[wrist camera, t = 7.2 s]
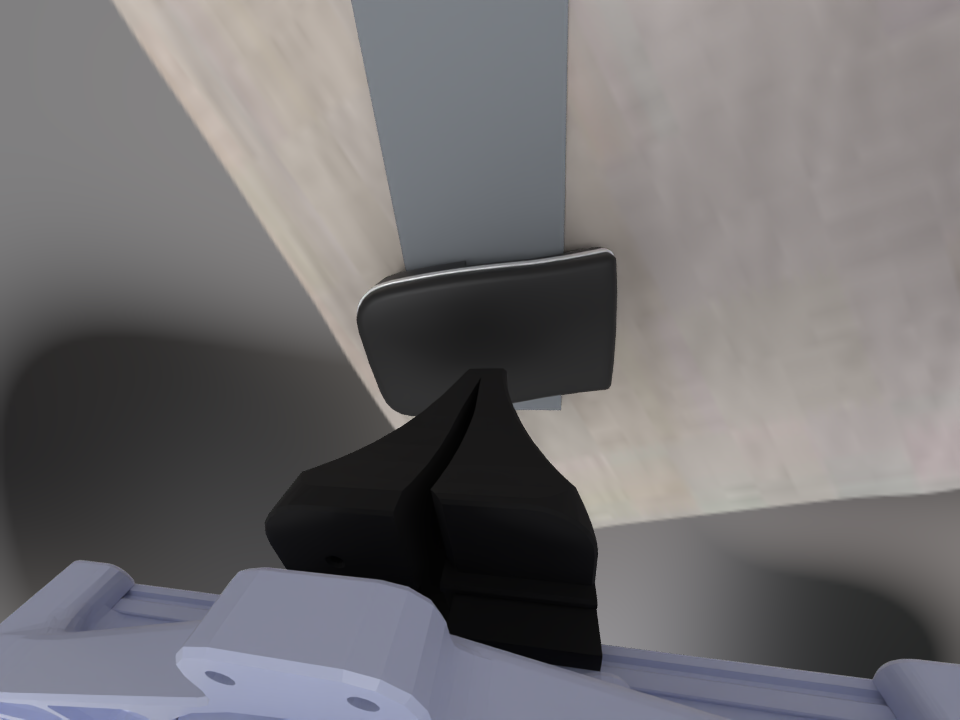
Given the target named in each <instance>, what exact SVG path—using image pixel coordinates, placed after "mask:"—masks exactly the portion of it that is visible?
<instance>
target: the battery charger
mask: <svg viewBox="0 0 960 720" xmlns="http://www.w3.org/2000/svg"><path fill="white" fill-rule="evenodd" d="M616 311H617V273H616V258H615V256H614V255H613V252H611V251H610V250H609V249H607V248H601V247H595V248H589V249H583V250H576V251H571V252H566V253H562V254H556V255H551V256H545V257H539V258H532V259H524V260H513V261H503V262H494V263H485V264H476V265H468V266H467V263H466V261H461V262H454V263H447V264H441V265H435V266H430V267H424V268H419V269H414V270H409V271H404V272H400V273H397V274H394V275H391V276H388V277H386V278H384V279H383V280H382V281H380V282H379V283H378V284H376V285H375V286H374V287H372V288H371V289H370V290H369V291H368V292H366V294H365V295H364V296H363V297H362V298H361V300H360V302H359V305H358V308H357V319H356V320H357V325H358V330H359V334H360V337H361V340H362V343H363V346H364V349H365V352H366V355H367V358H368V361H369V364H370V367H371V369H372V372H373V374H374V377H375V379H376V382H377V384H378V387H379V389H380V392H381V394H382V396H383V398H384V399H385V401H386V403H387V404H388V405H389V406H390V407H391V408H392V409H393V410H395V411H397V412H399V413H401V414H404V415H409V416H417V415H419V414H420V413H421V412H423V411H424V410H425V409H426V408H427V407H429V406H430V405H431V404H432V403H433V402H435V401H436V400H437V399H438V398H439V397H441V396H442V395H443V394H444V393H445V392H446V391H447V390H448V389H449V388H450V387H451V386H452V385H453V384H454V383H455V382H456V381H457V380H458V379H459V378H460V377H461V376H462V375H463V374H464V373H465V372H466V371H468V370H469V369H486V368H504V369H505V370H506V371H507V383H508V392H509V395H510V398H511V401H512V403H518V402H524V401H529V400H534V399H539V398H544V397H551V396H557V395H565V394H573V393H579V392H588V391H597V390H606V389H609V387H610V386H611V381H612V373H613V364H614V351H615V337H616Z"/></svg>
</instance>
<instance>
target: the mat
mask: <svg viewBox="0 0 960 720" xmlns="http://www.w3.org/2000/svg"><path fill="white" fill-rule="evenodd" d="M351 2H352V7H353V12H354V17H355V22H356V27H357V32H358V37H359V42H360V47H361V52H362V56H363V61H364V66H365V71H366V76H367V81H368V86H369V91H370V96H371V101H372V106H373V111H374V116H375V121H376V125H377V130H378V135H379V140H380V145H381V150H382V155H383V160H384V165H385V170H386V175H387V180H388V185H389V190H390V194H391V199H392V204H393V209H394V214H395V219H396V224H397V229H398V234H399V239H400V244H401V249H402V254H403V258H404V263H405V268H406V271H409V270H414V269H419V268H424V267H430V266H435V265H441V264H447V263H454V262H461V261H466V263H467V266H468V265H476V264H485V263H494V262H503V261H513V260H524V259H532V258H539V257H545V256H551V255H556V254H562V253H564V208H565V152H566V95H567V39H568V0H351ZM512 404H513V406H514V409H515V410H561V395H557V396H551V397H544V398H539V399H534V400H529V401H524V402H518V403H512Z"/></svg>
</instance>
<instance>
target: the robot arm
mask: <svg viewBox="0 0 960 720" xmlns="http://www.w3.org/2000/svg"><path fill="white" fill-rule="evenodd" d="M265 531H266V535H267V538H268V540H269V542H270V544H271V546H272V547H273V549H274V550H275V552H276V553H277V555H278V557H279V558H280V560H281V561H282V563H283V564H284V566H285V568H286V569H287V570H286V569H276V568H268V567H265V568H254V569H246V570H242V571H239V572H238V573H237V574H236V576H235V577H234V578H233V579H232V580H231V582H230V583H229V584H228V585H227V587H226V588H225V590H224V591H223V592H222V593H221V595H218V594H210V593H202V592H194V591H187V590H179V589H172V588H164V587H157V586H149V585H141V584H134V580H133V579H132V578H131V576H130V575H128V573H127V572H125V571H124V570H123V569H121V568H119V567H117V566H115V565H112V564H108V563H99V562H91V561H83V560H79V561H75V562H73V563H72V564H71V565H69V566H68V567H67V568H66V569H65V570H63V571H62V572H61V573H60V574H59V575H57V576H56V577H55V578H54V579H53V580H52V581H50V582H49V583H48V584H47V585H46V586H44V587H43V588H42V589H41V590H40V591H38V592H37V593H36V594H35V595H34V596H33V597H31V598H30V599H29V600H28V601H27V602H25V603H24V604H23V605H22V606H21V607H19V608H18V609H17V610H16V611H15V612H14V613H12V614H11V615H10V616H9V617H8V618H6V619H5V620H4V621H3V622H2V623H1V624H0V720H960V664H952V663H943V662H935V661H926V660H918V659H899V660H894V661H890V662H888V663H886V664H884V665H882V666H881V667H880V668H879V669H878V670H877V672H876V674H875V675H874V678H873V679H865V678H857V677H850V676H842V675H834V674H827V673H819V672H811V671H804V670H796V669H788V668H780V667H773V666H765V665H757V664H750V663H742V662H734V661H727V660H718V659H711V658H703V657H695V656H688V655H680V654H672V653H665V652H657V651H650V650H641V649H634V648H626V647H619V646H611V645H603V644H601V640H600V632H599V625H598V618H597V610H596V609H597V595H596V588H595V576H596V567H597V558H598V548H597V541H596V537H595V534H594V530H593V527H592V524H591V521H590V518H589V516H588V513H587V511H586V509H585V506H584V504H583V502H582V500H581V498H580V495H579V493H578V491H577V489H576V487H574V486H573V485H572V484H571V483H570V482H569V481H568V480H567V479H566V478H565V477H564V476H563V475H562V474H561V473H559V472H558V471H557V470H556V468H555V467H554V466H553V465H552V464H551V463H550V462H549V461H548V460H547V459H546V457H545V456H544V455H543V453H542V452H541V451H540V450H539V448H538V447H537V446H536V445H535V443H534V442H533V441H532V439H531V438H530V436H529V435H528V433H527V431H526V430H525V428H524V426H523V425H522V423H521V421H520V419H519V417H518V415H517V413H516V411H515V409H514V406H513V404H512V401H511V398H510V395H509V392H508V383H507V371H506V370H505V369H504V368H486V369H469V370H468V371H466V372H465V373H464V374H463V375H462V376H461V377H460V378H459V379H458V380H457V381H456V382H455V383H454V384H453V385H452V386H451V387H450V388H449V389H448V390H447V391H446V392H445V393H444V394H443V395H442V396H441V397H439V398H438V399H437V400H436V401H435V402H433V403H432V404H431V405H430V406H429V407H427V408H426V409H425V410H424V411H423V412H421V413H420V414H419V415H417V416H416V417H415V418H413V419H412V420H410V421H409V422H407V423H406V424H404V425H403V426H401V427H400V428H398V429H396V430H395V431H393V432H391V433H390V434H388V435H386V436H384V437H383V438H381V439H379V440H377V441H375V442H374V443H372V444H370V445H367V446H365V447H364V448H361V449H359V450H357V451H355V452H353V453H350V454H348V455H346V456H344V457H341V458H339V459H336V460H333V461H331V462H328V463H326V464H323V465H320V466H317V467H315V468H312V469H310V470H306V471H303V472H302V473H301V474H300V475H299V476H298V477H297V479H296V480H295V481H294V483H293V484H292V485H291V487H290V488H289V489H288V490H287V491H286V493H285V494H284V495H283V497H282V498H281V499H280V500H279V502H278V503H277V504H276V505H275V507H274V508H273V509H272V511H271V512H270V513H269V514H268V517H267V519H266V521H265Z"/></svg>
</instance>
